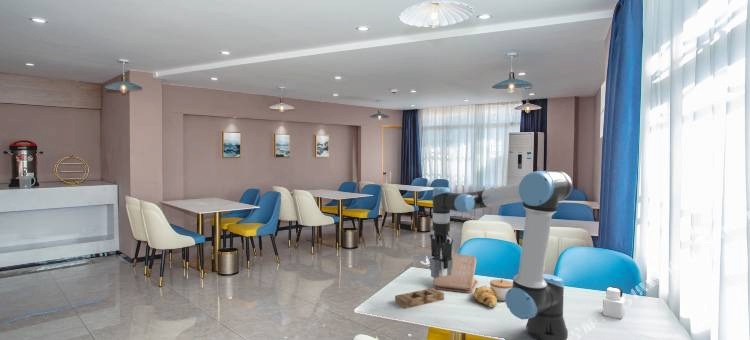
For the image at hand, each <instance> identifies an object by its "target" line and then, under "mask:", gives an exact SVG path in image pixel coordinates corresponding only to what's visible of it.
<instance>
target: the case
mask: <svg viewBox="0 0 750 340" xmlns="http://www.w3.org/2000/svg"><path fill="white" fill-rule="evenodd" d="M440 256H441V257H442V252H440ZM451 257H453V268H452V269H451V275H448V276H447V275H446V276H441V273H439V277H437V278H433V280H432V282H433V283H432V284H433V285H434V286H433V288H434V289H436V290H438V291H440V290H442V291H448V292H449V291H450V292H456V293H457V292H458V293H466V294H471V293H473V292H474V291H475V289H476V288H477V285H478V283H479V282H478V280H477V279H475V273H476V265H477V258H476V256H475V255H471V254H470V255H468V254H460V253H452V256H451Z"/></svg>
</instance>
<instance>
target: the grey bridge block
mask: <svg viewBox="0 0 750 340" xmlns="http://www.w3.org/2000/svg"><path fill="white" fill-rule="evenodd" d="M441 260H443V259H442V257H436V258H434V257H431V258H429V270H430V277H431V278H433V279H434V278H437V277H439V271H441ZM452 268H453V257H451V260H450V261H448V268H447V276H448V275H451V269H452Z"/></svg>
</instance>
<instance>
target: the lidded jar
mask: <svg viewBox="0 0 750 340" xmlns="http://www.w3.org/2000/svg"><path fill="white" fill-rule="evenodd" d="M512 286H513V281H510V280H508V279H507V280H506V279H503V278H500V279H492V280H490V281H489V288H491V289H492V290H494V293H495V295H496V298H497V301H502V302H505V295H506V293H507V291H508V290H509V289H510V288H512Z"/></svg>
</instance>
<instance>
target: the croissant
mask: <svg viewBox="0 0 750 340" xmlns="http://www.w3.org/2000/svg"><path fill="white" fill-rule="evenodd" d="M473 292H474V293H473V296H474V300H476V301H477V302H478V303H480V304H482V305H485V306H489V307H491V308H494V307H496V306H497V304H498V300H497V298H496V295H495V293H494V290H492V289H491V288H490V286H487V285H484V286H480V287H475V289H474V291H473Z"/></svg>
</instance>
